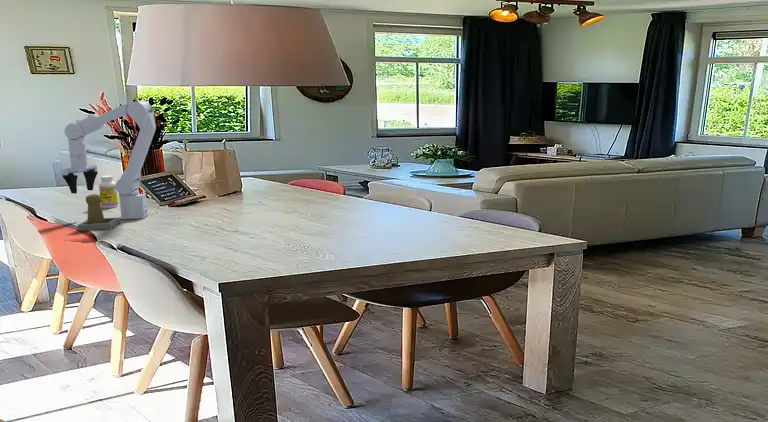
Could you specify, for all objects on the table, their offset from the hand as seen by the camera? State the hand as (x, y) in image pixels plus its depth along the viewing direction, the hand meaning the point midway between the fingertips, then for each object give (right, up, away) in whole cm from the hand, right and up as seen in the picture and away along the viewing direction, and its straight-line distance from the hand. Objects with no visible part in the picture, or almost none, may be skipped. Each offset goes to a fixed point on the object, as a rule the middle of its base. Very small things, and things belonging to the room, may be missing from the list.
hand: (82, 191), depth 259 cm
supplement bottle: (-1, -6, +28) cm, 28 cm away
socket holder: (+12, -13, -13) cm, 22 cm away
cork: (+11, -12, -13) cm, 21 cm away
